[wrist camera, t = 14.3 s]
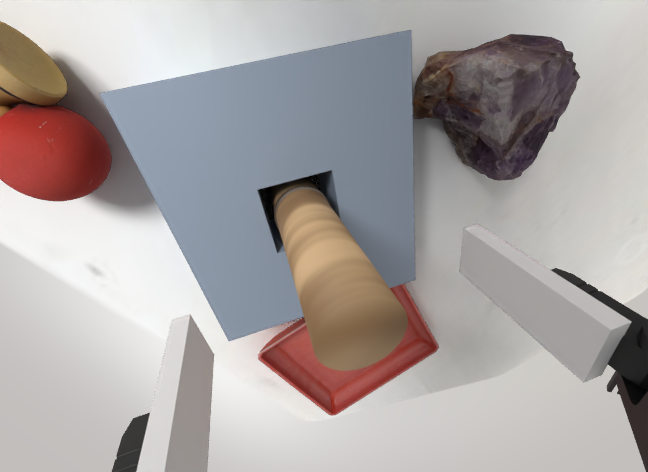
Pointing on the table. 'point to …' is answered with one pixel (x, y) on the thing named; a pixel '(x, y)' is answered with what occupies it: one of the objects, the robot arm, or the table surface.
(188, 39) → the table surface
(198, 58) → the table surface
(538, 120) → the rock
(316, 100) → the board
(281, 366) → the plant saucer
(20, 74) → the kendama
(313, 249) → the peg
